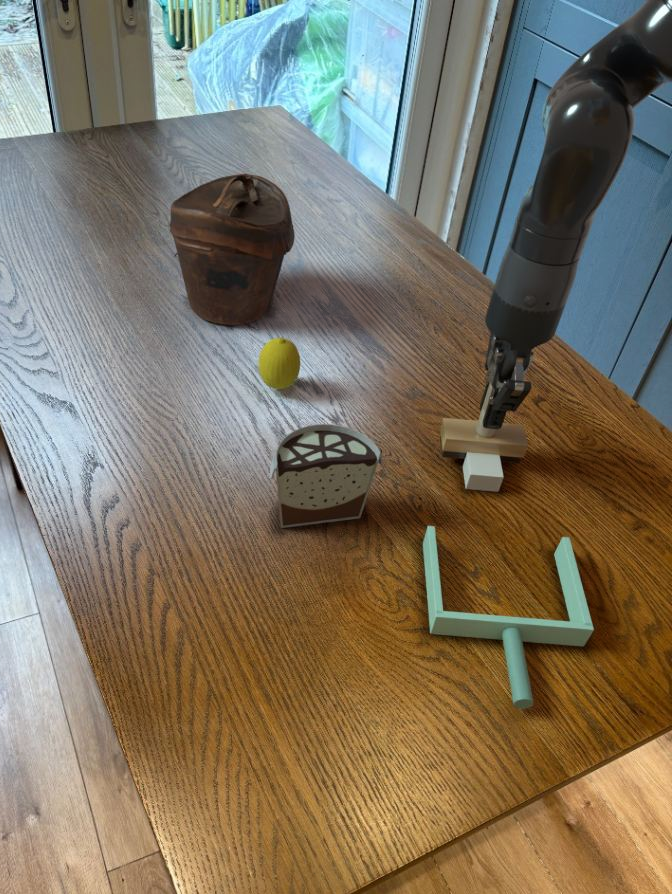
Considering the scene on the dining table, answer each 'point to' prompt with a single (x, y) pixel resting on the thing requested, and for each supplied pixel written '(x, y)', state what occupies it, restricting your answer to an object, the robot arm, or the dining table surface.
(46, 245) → the dining table surface
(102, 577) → the dining table surface
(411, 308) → the dining table surface
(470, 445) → the brush
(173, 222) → the case
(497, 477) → the white square block
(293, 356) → the lemon
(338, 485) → the cupcake
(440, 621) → the goalpost shaped holder
